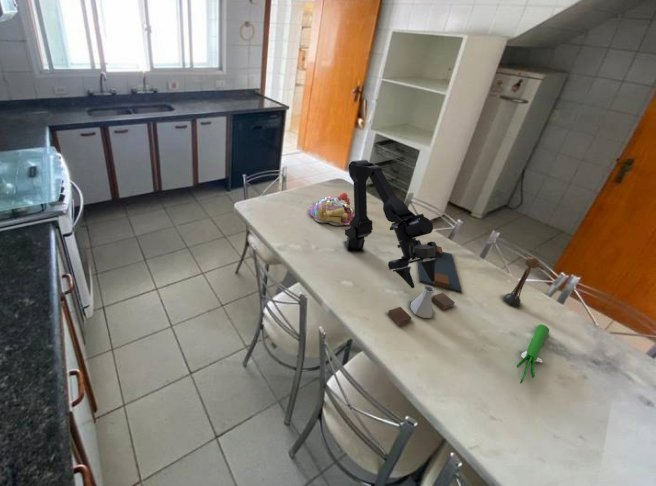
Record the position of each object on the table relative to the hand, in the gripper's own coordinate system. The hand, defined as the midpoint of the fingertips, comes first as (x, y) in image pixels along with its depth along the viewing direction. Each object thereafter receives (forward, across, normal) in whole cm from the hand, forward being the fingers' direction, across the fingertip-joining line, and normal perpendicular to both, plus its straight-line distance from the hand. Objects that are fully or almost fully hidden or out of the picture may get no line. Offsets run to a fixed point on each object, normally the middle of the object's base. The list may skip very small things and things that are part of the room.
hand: (423, 284), depth 111 cm
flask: (+8, 0, +5) cm, 10 cm away
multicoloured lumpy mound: (-38, +7, +51) cm, 64 cm away
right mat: (-2, +24, +16) cm, 29 cm away
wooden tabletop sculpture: (+15, +35, -1) cm, 38 cm away
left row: (+8, 0, +5) cm, 10 cm away
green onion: (+27, +18, -13) cm, 34 cm away
